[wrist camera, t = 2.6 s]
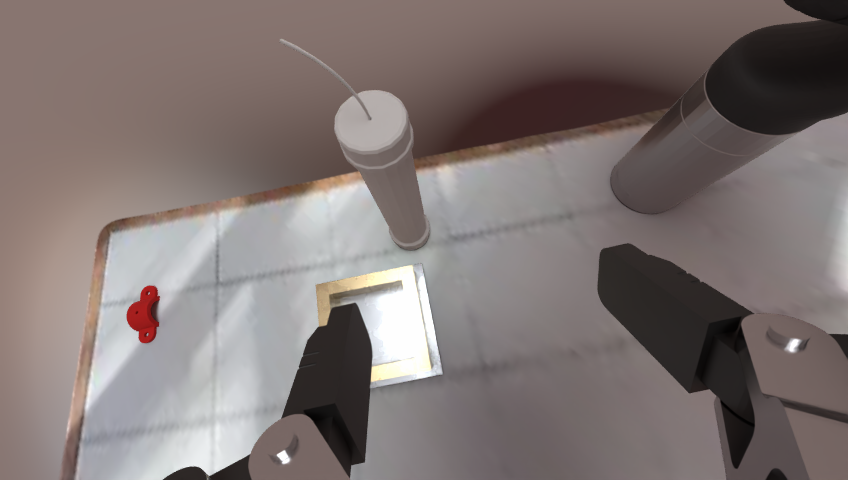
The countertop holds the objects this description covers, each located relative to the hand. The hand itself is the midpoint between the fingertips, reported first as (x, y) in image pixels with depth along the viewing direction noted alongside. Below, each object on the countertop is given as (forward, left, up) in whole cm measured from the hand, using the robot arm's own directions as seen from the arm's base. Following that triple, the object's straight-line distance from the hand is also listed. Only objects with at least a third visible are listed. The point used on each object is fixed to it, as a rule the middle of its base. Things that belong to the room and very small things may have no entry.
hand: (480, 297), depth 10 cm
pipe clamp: (+42, -10, -32) cm, 54 cm away
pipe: (+4, -14, -31) cm, 35 cm away
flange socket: (+10, -2, -31) cm, 33 cm away
